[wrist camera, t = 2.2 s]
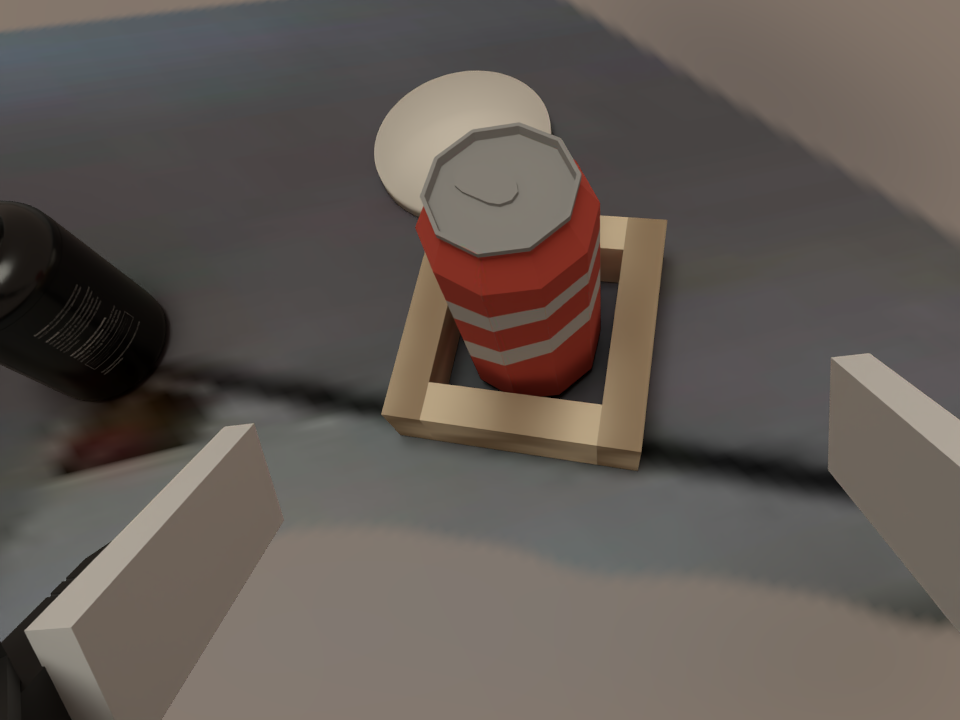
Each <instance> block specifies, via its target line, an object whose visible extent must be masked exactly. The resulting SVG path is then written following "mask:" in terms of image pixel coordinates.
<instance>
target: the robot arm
mask: <svg viewBox="0 0 960 720" xmlns="http://www.w3.org/2000/svg"><path fill="white" fill-rule="evenodd" d="M828 470H829V472H830V473H831V474H832V475H833V477H834V478H835V479H836V480H837V482H838V483H839V484H840V485H841V486H842V488H843V489H844V490H845V491H846V493H847V494H848V495H849V496H850V498H851V499H852V500H853V501H854V503H855V504H856V505H857V506H858V508H859V509H860V510H861V511H862V513H863V514H864V515H865V516H866V518H867V519H868V520H869V521H870V523H871V524H872V525H873V526H874V528H875V529H876V530H877V531H878V532H879V534H880V535H881V536H882V537H883V539H884V540H885V541H886V542H887V544H888V545H889V546H890V547H891V549H892V550H893V551H894V552H895V554H896V555H897V556H898V557H899V559H900V560H901V561H902V562H903V564H904V565H905V566H906V567H907V569H908V570H909V571H910V572H911V574H912V575H913V576H914V577H915V578H916V580H917V581H918V582H919V583H920V585H921V586H922V587H923V588H924V590H925V591H926V592H927V593H928V595H929V596H930V597H931V598H932V600H933V601H934V602H935V603H936V605H937V606H938V607H939V608H940V610H941V611H942V612H943V613H944V615H945V616H946V617H947V618H948V620H949V621H950V622H951V623H952V624H953V626H954V627H955V628H956V629H957V631H958V632H959V633H960V420H959V419H958V418H956V417H955V416H953V415H952V414H951V413H949V412H948V411H947V410H945V409H944V408H943V407H941V406H940V405H939V404H937V403H936V402H935V401H933V400H932V399H930V398H929V397H928V396H926V395H925V394H924V393H922V392H921V391H920V390H918V389H917V388H916V387H914V386H913V385H912V384H910V383H909V382H907V381H906V380H905V379H903V378H902V377H901V376H899V375H898V374H897V373H895V372H894V371H893V370H891V369H890V368H888V367H887V366H886V365H884V364H883V363H882V362H880V361H879V360H878V359H876V358H875V357H874V356H872V355H871V354H870V353H867V354H858V355H849V356H840V357H832V358H831V378H830V415H829V452H828ZM283 521H284V518H283V515H282V512H281V509H280V506H279V502H278V499H277V496H276V493H275V489H274V486H273V483H272V480H271V476H270V473H269V470H268V467H267V464H266V460H265V457H264V454H263V451H262V447H261V444H260V441H259V438H258V434H257V431H256V428H255V425H254V423H253V424H244V425H235V426H226V427H224V428H223V429H222V430H221V431H220V432H219V433H218V434H217V435H216V436H215V437H214V438H213V439H212V440H211V441H210V442H209V443H208V444H207V445H206V446H205V447H204V448H203V449H202V450H201V451H200V452H199V453H198V454H197V455H196V456H195V457H194V458H193V459H192V460H191V461H190V462H189V463H188V464H187V465H186V466H185V467H184V468H183V469H182V470H181V471H180V472H179V473H178V474H177V475H176V476H175V477H174V478H173V480H172V481H171V482H170V483H169V484H168V485H167V486H166V487H165V488H164V489H163V490H162V491H161V492H160V493H159V494H158V495H157V496H156V497H155V498H154V499H153V500H152V501H151V502H150V503H149V504H148V505H147V506H146V507H145V508H144V509H143V510H142V511H141V512H140V513H139V514H138V515H137V516H136V517H135V518H134V519H133V520H132V521H131V522H130V523H129V524H128V525H127V526H126V527H125V528H124V529H123V531H122V532H121V533H120V534H119V535H118V536H117V537H116V538H115V539H114V540H113V541H111V542H110V543H108V544H107V545H105V546H104V547H102V548H101V549H99V550H98V551H96V552H95V553H93V554H92V555H90V556H89V557H87V558H86V559H85V560H84V561H83V562H82V563H81V564H80V565H79V566H78V567H77V568H76V569H75V570H74V571H73V572H72V573H71V574H70V575H69V576H68V577H67V578H66V581H63V582H62V583H61V584H60V585H59V586H58V587H57V588H56V589H55V590H54V591H53V592H52V593H51V597H47V598H46V599H45V600H44V601H43V602H42V603H41V604H40V605H39V606H38V607H37V608H36V609H35V610H34V611H33V612H32V613H31V614H30V615H29V616H28V617H27V618H26V619H25V620H23V621H22V622H21V623H20V624H19V625H18V626H17V627H16V628H15V629H14V630H13V631H12V632H11V633H10V634H9V635H8V636H7V637H6V638H5V639H4V640H3V641H2V642H0V720H162V718H163V717H164V715H165V713H166V711H167V710H168V708H169V707H170V705H171V704H172V702H173V700H174V699H175V697H176V695H177V694H178V692H179V690H180V689H181V687H182V686H183V684H184V682H185V681H186V679H187V678H188V675H189V674H190V673H191V671H192V669H193V668H194V666H195V664H196V663H197V661H198V659H199V658H200V656H201V655H202V653H203V651H204V650H205V648H206V647H207V645H208V643H209V641H210V640H211V638H212V637H213V635H214V633H215V632H216V630H217V629H218V627H219V625H220V623H221V622H222V620H223V619H224V617H225V616H226V614H227V612H228V611H229V609H230V607H231V606H232V604H233V602H234V601H235V599H236V598H237V596H238V594H239V593H240V591H241V589H242V588H243V586H244V585H245V583H246V581H247V580H248V578H249V576H250V575H251V573H252V572H253V570H254V568H255V567H256V565H257V563H258V562H259V560H260V559H261V557H262V555H263V554H264V552H265V550H266V549H267V547H268V545H269V544H270V542H271V541H272V539H273V537H274V536H275V534H276V532H277V531H278V529H279V528H280V526H281V524H282V523H283Z"/></svg>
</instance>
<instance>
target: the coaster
mask: <svg viewBox="0 0 960 720" xmlns="http://www.w3.org/2000/svg"><path fill="white" fill-rule="evenodd" d="M518 122H520V123H523V124H525V125H528V126H530V127H533V128H536V129H538V130H541V131H543V132H546V133H549V134H551V125H550V119H549V115H548V112H547V110H546V107H545V105H544V103H543V102H542V100H541V99H540V97H539V96H538V95H537V94H536V93H535V92H534V91H533V90H532V89H531V88H530V87H528V86H527V85H526V84H524V83H522V82H521V81H519V80H517V79H515V78H512V77H510V76H507V75H504V74H501V73H496V72H490V71H464V72H457V73H452V74H448V75H444V76H441V77H438V78H435V79H433V80H431V81H429V82H426V83H424V84H423V85H421V86H419V87H417V88H415V89H414V90H413V91H411V92H410V93H408V94H407V95H406V96H404V97H403V98H402V99H401V100H400V101H399V102H398V103H397V104H396V105H395V106H394V107H393V108H392V109H391V111H390V112H389V113H388V115H387V116H386V117H385V119H384V121H383V123H382V124H381V126H380V129H379V131H378V134H377V137H376V141H375V149H374V157H375V164H376V168H377V171H378V174H379V176H380V178H381V180H382V182H383V184H384V187H385V189H386V191H387V192H388V194H389V195H390V197H391V198H392V199H393V200H394V201H395V202H396V203H397V204H398V205H399V206H400V207H402V208H403V209H404V210H406V211H407V212H409V213H411V214H413V215H415V216H417V217H419V216H420V213H421V211H422V208H423V203H422V201H421V198H420V194H421V192H422V189H423V186H424V184H425V181H426V178H427V176H428V173H429V170H430V167H431V165H432V162H433V159H434V157H435V156H437V155H438V154H439V153H441V152H442V151H443V150H445V149H446V148H448V147H449V146H450V145H452V144H453V143H454V142H456V141H457V140H458V139H460V138H461V137H462V136H464V135H465V134H467V133H468V132H469V131H471V130H472V129H479V128H485V127H492V126H498V125H505V124H511V123H518Z"/></svg>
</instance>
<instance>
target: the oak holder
mask: <svg viewBox="0 0 960 720" xmlns="http://www.w3.org/2000/svg"><path fill="white" fill-rule="evenodd" d="M666 225H667V220H659V219H644V218H629V217H613V216H600V281H603V282H615V283H619V286H618V294H617V301H616V308H615V316H614V323H613V330H612V337H611V345H610V352H609V359H608V366H607V374H606V381H605V388H604V396H603V403H602V405H600V404H593V403H585V402H577V401H570V400H562V399H554V398H547V397H539V396H531V395H524V394H516V393H508V392H501V391H493V390H485V389H478V388H470V387H463V386H455V385H449V380H450V376H451V372H452V367H453V363H454V359H455V354H456V350H457V346H458V342H459V337H460V331H459V329H458V327H457V325H456V322H455V320H454V318H453V316H452V313H451V311H450V309H449V307H448V304H447V302H446V300H445V298H444V295H443V293H442V291H441V289H440V286H439V284H438V282H437V280H436V278H435V275H434V273H433V271H432V268H431V266H430V263H429V261H428V258H427V256H426V253H424V257H423V261H422V264H421V268H420V272H419V276H418V279H417V283H416V287H415V291H414V294H413V298H412V302H411V305H410V309H409V313H408V317H407V320H406V324H405V328H404V332H403V335H402V339H401V343H400V347H399V350H398V354H397V358H396V361H395V365H394V369H393V373H392V376H391V380H390V384H389V388H388V391H387V395H386V399H385V403H384V406H383V410H382V414H381V415H382V416H383V417H384V418H385V419H386V420H387V421H388V422H389V423H390V424H391V425H392V426H393V427H394V428H395V430H396V431H397V432H398V433H399V434H400V435H405V436H411V437H418V438H424V439H431V440H438V441H444V442H451V443H457V444H464V445H471V446H477V447H484V448H490V449H497V450H503V451H510V452H517V453H523V454H530V455H536V456H543V457H550V458H556V459H563V460H569V461H576V462H582V463H589V464H596V465H602V466H609V467H615V468H622V469H629V470H635V471H638V466H639V461H640V456H641V451H642V442H643V433H644V424H645V415H646V406H647V397H648V388H649V379H650V370H651V361H652V352H653V343H654V334H655V325H656V316H657V307H658V297H659V288H660V279H661V270H662V261H663V252H664V243H665V234H666Z"/></svg>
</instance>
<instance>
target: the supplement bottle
mask: <svg viewBox="0 0 960 720" xmlns="http://www.w3.org/2000/svg"><path fill="white" fill-rule="evenodd" d="M165 335H166V322H165V317H164V314H163V311H162V309H161V307H160V305H159V304H158V302H157V301H156V300H155V299H154V298H153V297H152V296H151V295H150V294H149V293H148V292H146V291H145V290H144V289H143V288H141V287H140V286H139V285H138V284H136V283H135V282H134V281H133V280H131V279H130V278H129V277H127V276H126V275H125V274H123V273H122V272H121V271H119V270H118V269H117V268H116V267H114V266H113V265H112V264H110V263H109V262H108V261H106V260H105V259H104V258H103V257H101V256H100V255H99V254H97V253H96V252H95V251H93V250H92V249H91V248H90V247H88V246H87V245H86V244H84V243H83V242H82V241H80V240H79V239H78V238H76V237H75V236H74V235H73V234H71V233H70V232H69V231H67V230H66V229H65V228H63V227H62V226H61V225H60V224H58V223H57V222H56V221H54V220H53V219H52V218H50V217H49V216H47V215H46V214H45V213H43V212H42V211H40V210H38V209H37V208H35V207H32V206H30V205H27V204H24V203H19V202H14V201H0V365H2V366H4V367H6V368H9V369H11V370H13V371H15V372H17V373H19V374H21V375H24V376H26V377H28V378H30V379H32V380H34V381H36V382H39V383H41V384H43V385H45V386H47V387H49V388H52V389H54V390H56V391H58V392H61V393H63V394H65V395H68V396H70V397H73V398H76V399H79V400H87V401H95V400H102V399H107V398H111V397H113V396H116V395H118V394H121V393H123V392H125V391H126V390H128V389H130V388H131V387H133V386H134V385H135V384H137V383H138V382H139V381H140V380H141V379H142V378H143V377H144V376H145V375H146V374H147V373H148V372H149V371H150V369H151V368H152V367H153V365H154V364H155V362H156V361H157V359H158V357H159V355H160V353H161V350H162V348H163V345H164V341H165Z"/></svg>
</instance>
